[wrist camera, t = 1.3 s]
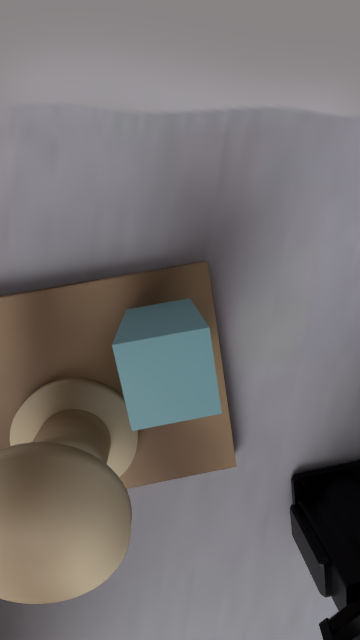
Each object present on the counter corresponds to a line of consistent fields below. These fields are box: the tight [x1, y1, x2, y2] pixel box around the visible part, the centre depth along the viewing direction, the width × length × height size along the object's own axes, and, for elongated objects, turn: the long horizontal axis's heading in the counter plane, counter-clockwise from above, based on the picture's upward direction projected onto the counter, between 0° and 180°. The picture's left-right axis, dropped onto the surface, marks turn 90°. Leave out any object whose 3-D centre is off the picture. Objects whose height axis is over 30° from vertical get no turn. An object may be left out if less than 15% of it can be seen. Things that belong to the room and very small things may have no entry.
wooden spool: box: [0, 378, 138, 604], centre depth 15 cm, size 7×7×7 cm
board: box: [0, 261, 236, 489], centre depth 17 cm, size 20×13×4 cm, turn 99°
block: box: [112, 298, 222, 431], centre depth 14 cm, size 4×4×6 cm
